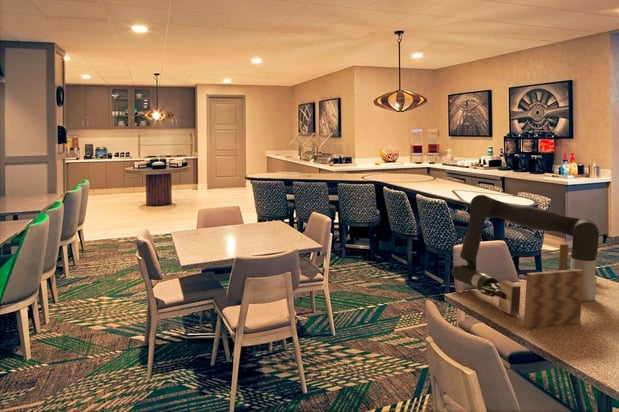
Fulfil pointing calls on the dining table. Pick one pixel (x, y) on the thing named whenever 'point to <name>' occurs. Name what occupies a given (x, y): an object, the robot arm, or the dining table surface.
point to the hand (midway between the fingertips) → (510, 296)
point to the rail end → (510, 297)
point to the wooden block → (563, 257)
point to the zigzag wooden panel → (553, 298)
